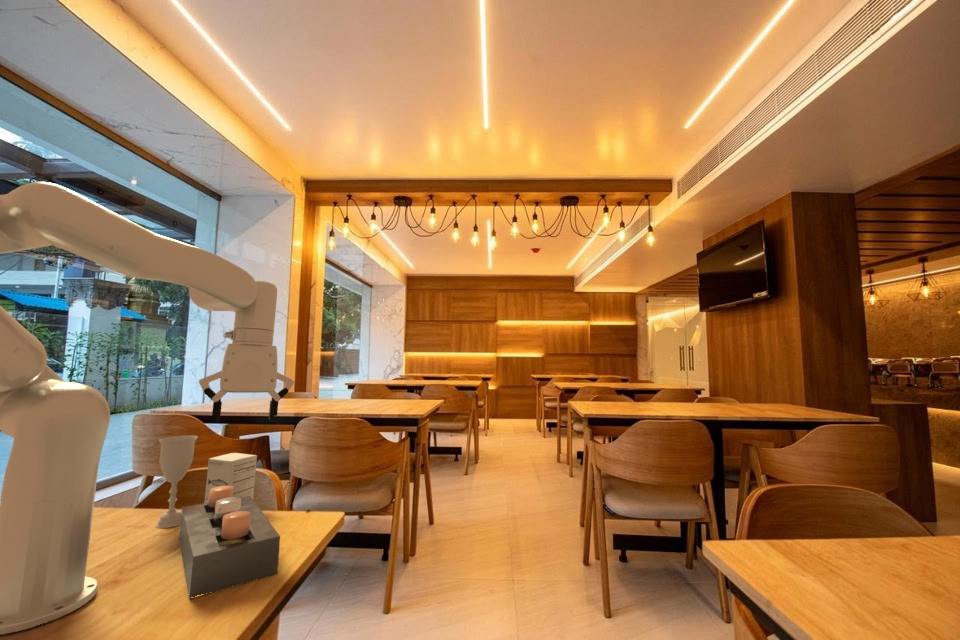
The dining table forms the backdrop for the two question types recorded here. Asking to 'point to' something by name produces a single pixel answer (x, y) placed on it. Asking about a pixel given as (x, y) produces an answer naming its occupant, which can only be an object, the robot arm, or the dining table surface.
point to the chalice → (174, 472)
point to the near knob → (235, 525)
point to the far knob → (219, 494)
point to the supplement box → (232, 474)
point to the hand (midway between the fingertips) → (245, 420)
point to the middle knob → (226, 507)
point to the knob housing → (225, 549)
